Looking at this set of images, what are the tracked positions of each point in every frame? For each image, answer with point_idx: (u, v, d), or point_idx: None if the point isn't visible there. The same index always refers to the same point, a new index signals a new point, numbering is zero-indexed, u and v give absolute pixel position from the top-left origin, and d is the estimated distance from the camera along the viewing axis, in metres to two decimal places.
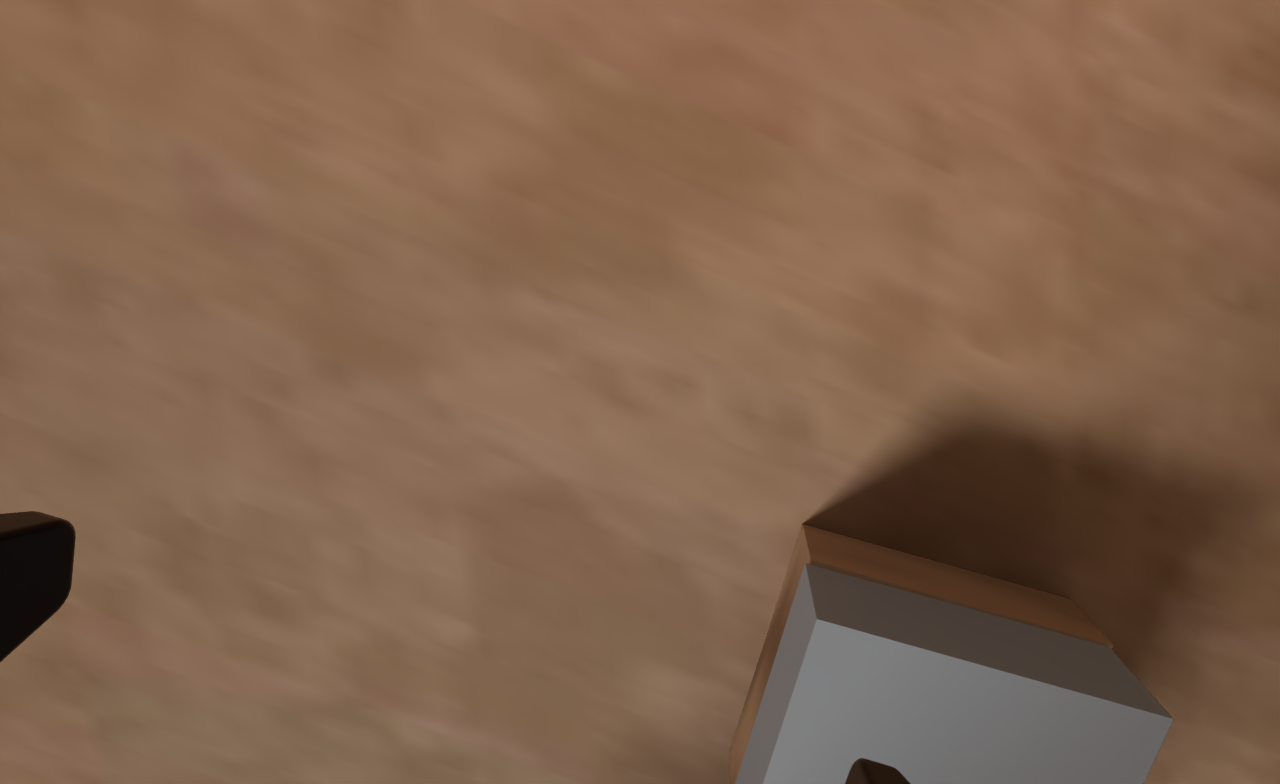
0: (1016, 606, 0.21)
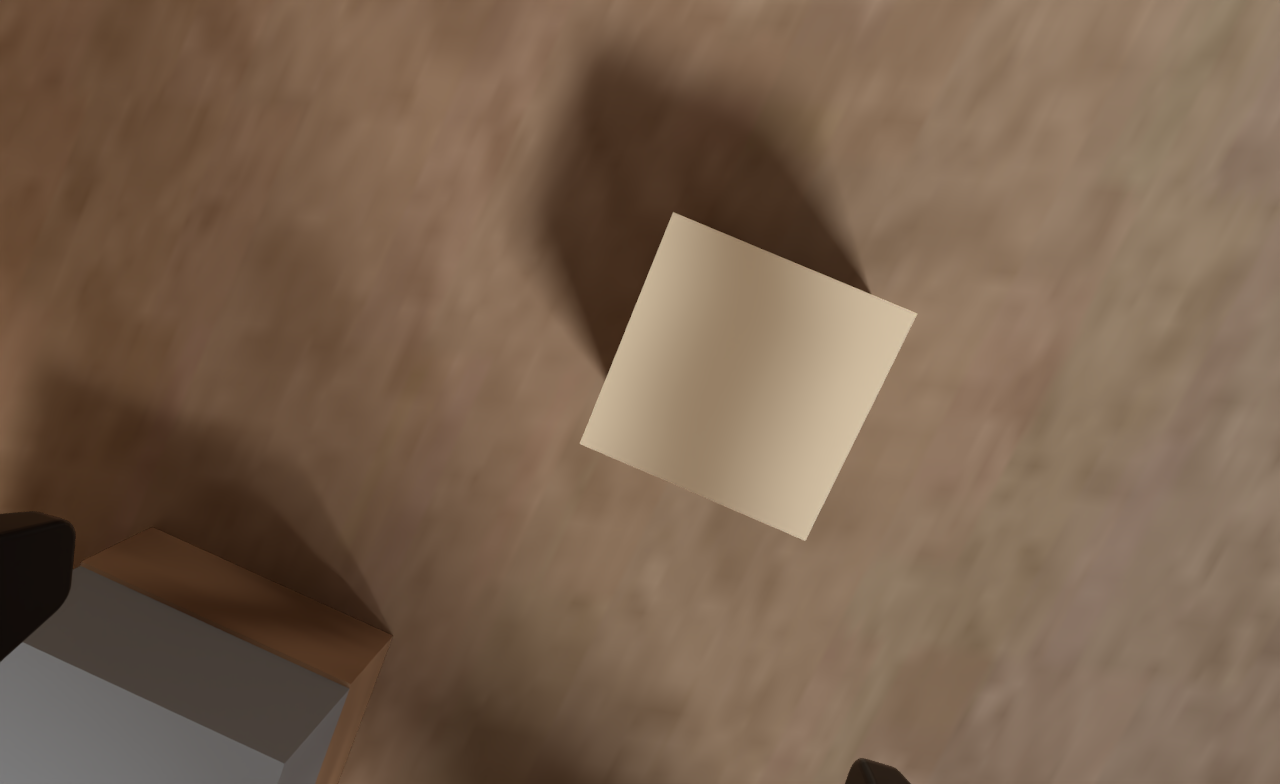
0: None
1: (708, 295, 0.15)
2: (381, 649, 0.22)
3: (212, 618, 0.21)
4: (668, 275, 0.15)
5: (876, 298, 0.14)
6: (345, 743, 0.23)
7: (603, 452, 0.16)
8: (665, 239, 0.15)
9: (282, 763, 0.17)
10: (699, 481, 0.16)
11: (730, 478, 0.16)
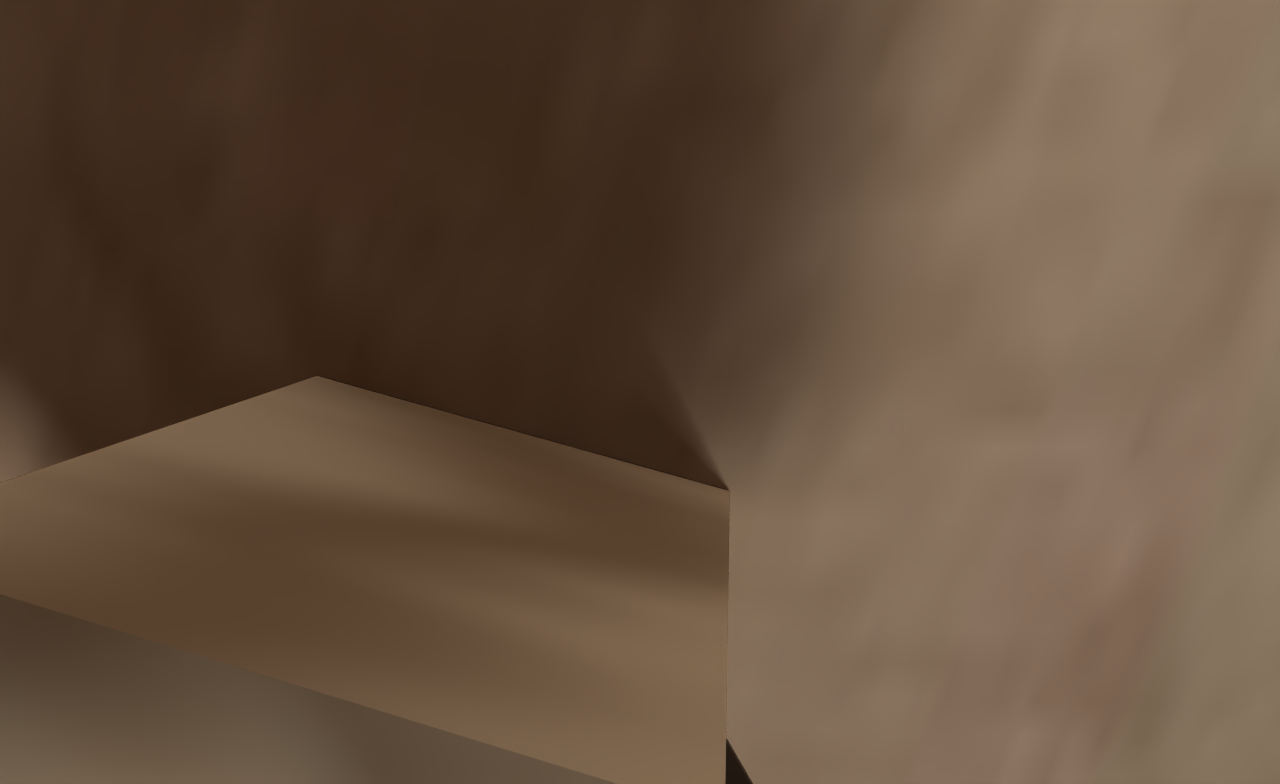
0: None
1: None
2: None
3: None
4: None
5: (568, 773, 0.04)
6: None
7: None
8: None
9: None
10: None
11: None
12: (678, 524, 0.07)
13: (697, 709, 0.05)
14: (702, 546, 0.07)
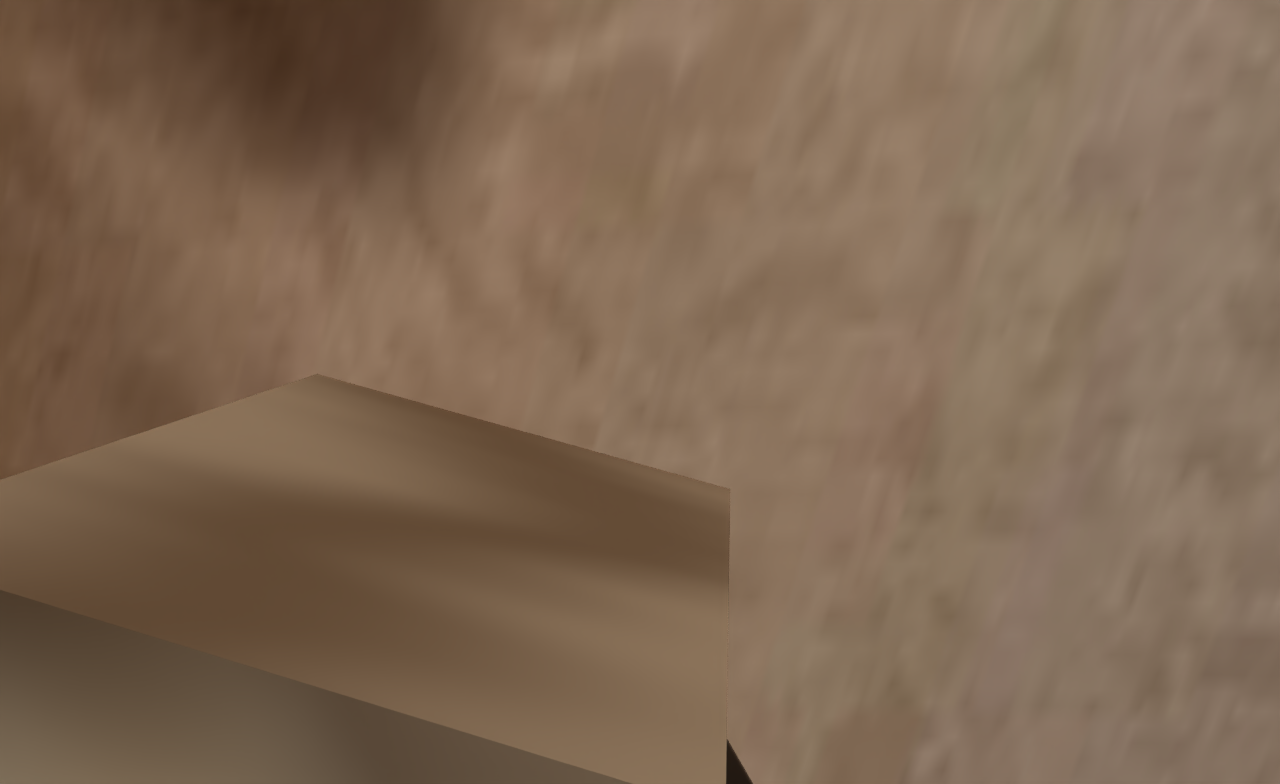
0: None
1: None
2: None
3: None
4: None
5: (569, 768, 0.04)
6: None
7: None
8: None
9: None
10: None
11: None
12: (679, 522, 0.07)
13: (698, 705, 0.05)
14: (703, 544, 0.07)
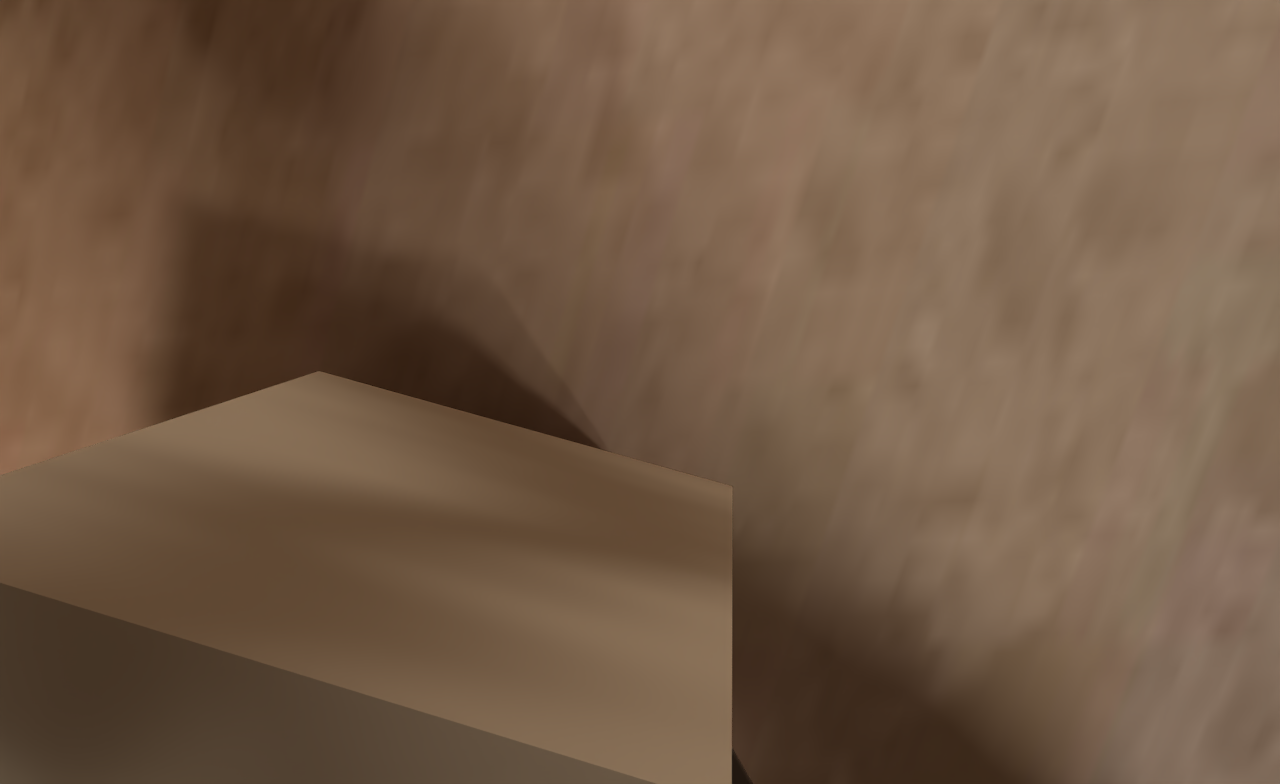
0: None
1: (27, 783, 0.04)
2: None
3: None
4: None
5: (573, 762, 0.04)
6: None
7: None
8: None
9: None
10: None
11: None
12: (681, 518, 0.07)
13: (702, 700, 0.05)
14: (706, 540, 0.07)
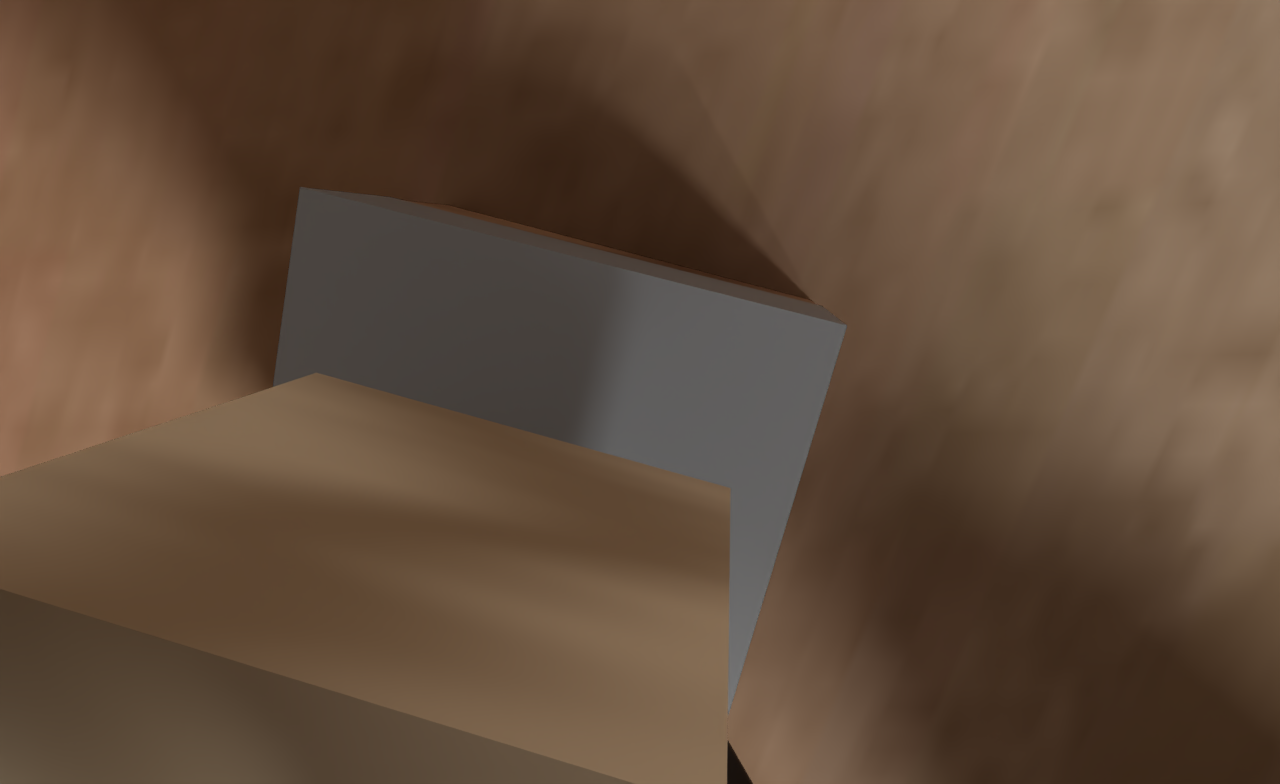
0: None
1: None
2: None
3: None
4: None
5: (568, 767, 0.04)
6: None
7: None
8: None
9: (842, 325, 0.11)
10: None
11: None
12: (679, 521, 0.07)
13: (698, 704, 0.05)
14: (703, 542, 0.07)
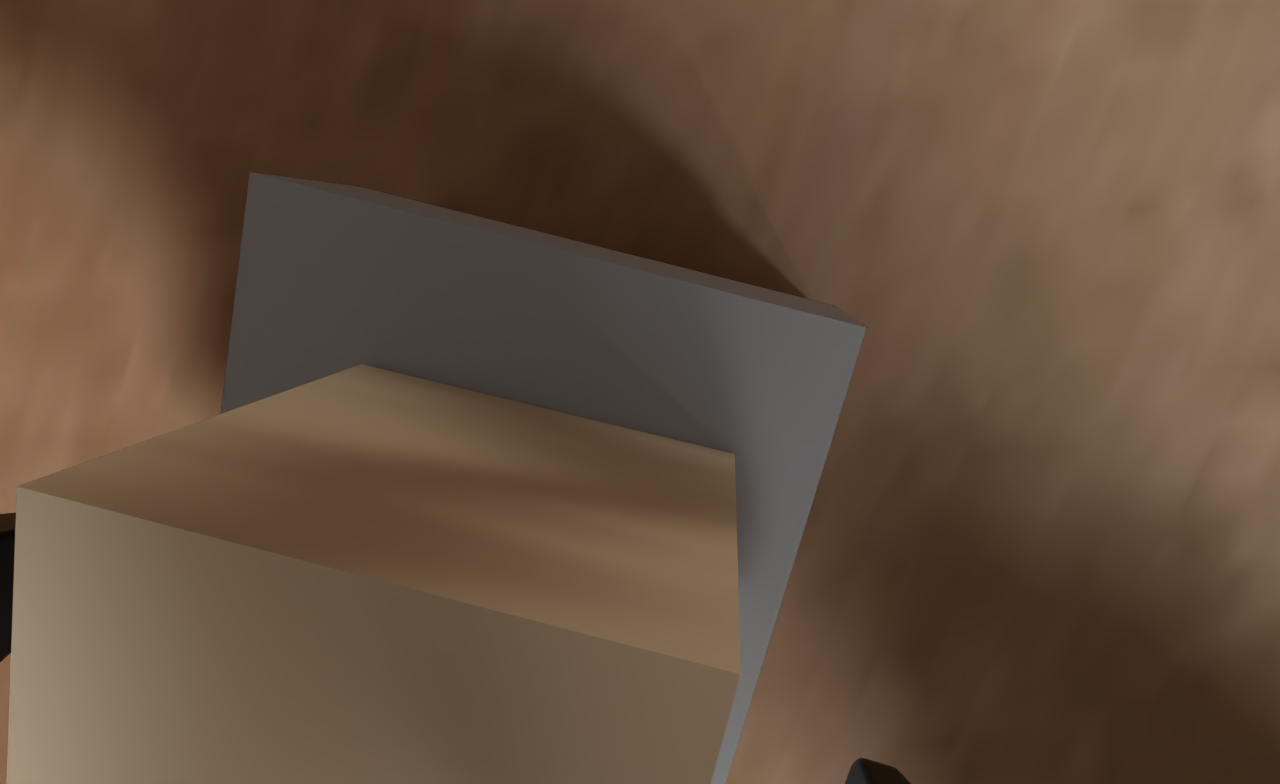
0: None
1: (175, 686, 0.05)
2: None
3: None
4: (62, 646, 0.05)
5: (615, 645, 0.05)
6: None
7: None
8: (27, 556, 0.05)
9: (862, 327, 0.09)
10: None
11: None
12: (691, 479, 0.08)
13: (715, 607, 0.06)
14: (713, 495, 0.08)
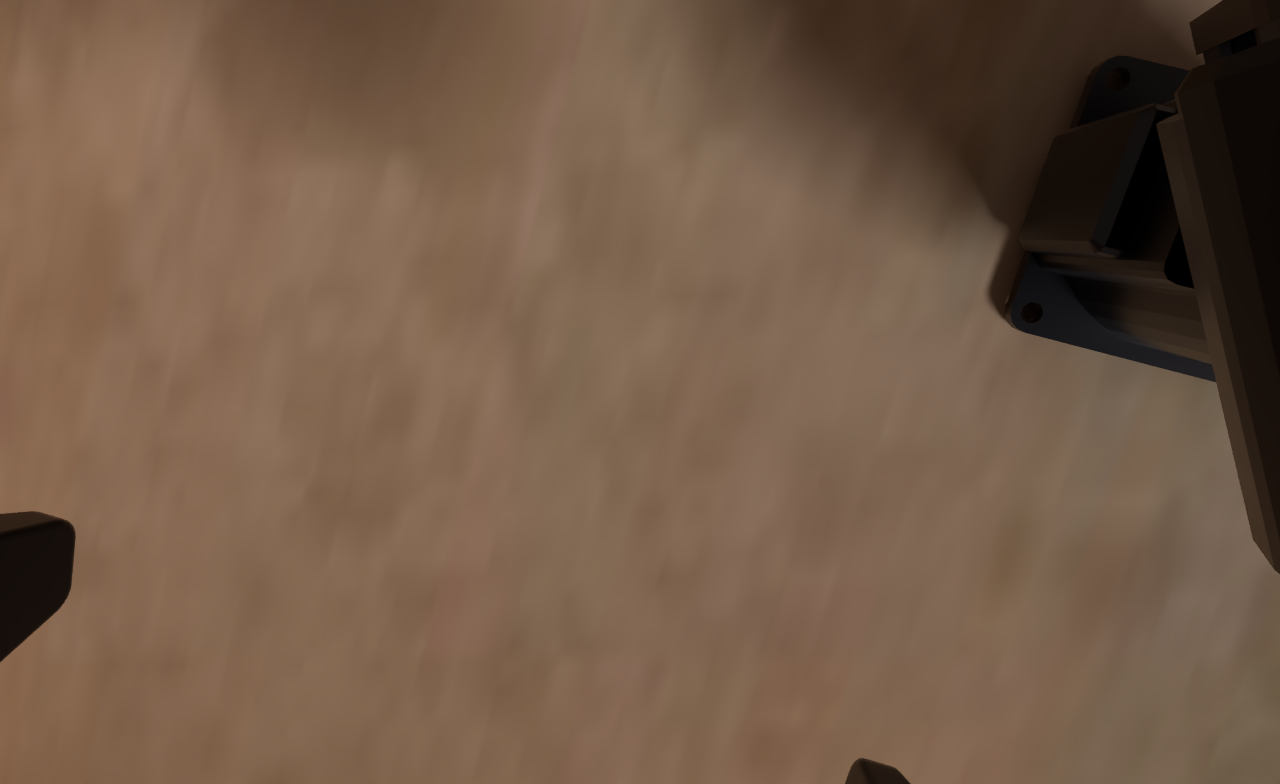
0: None
1: None
2: None
3: None
4: None
5: None
6: None
7: None
8: None
9: None
10: None
11: None
12: None
13: None
14: None
